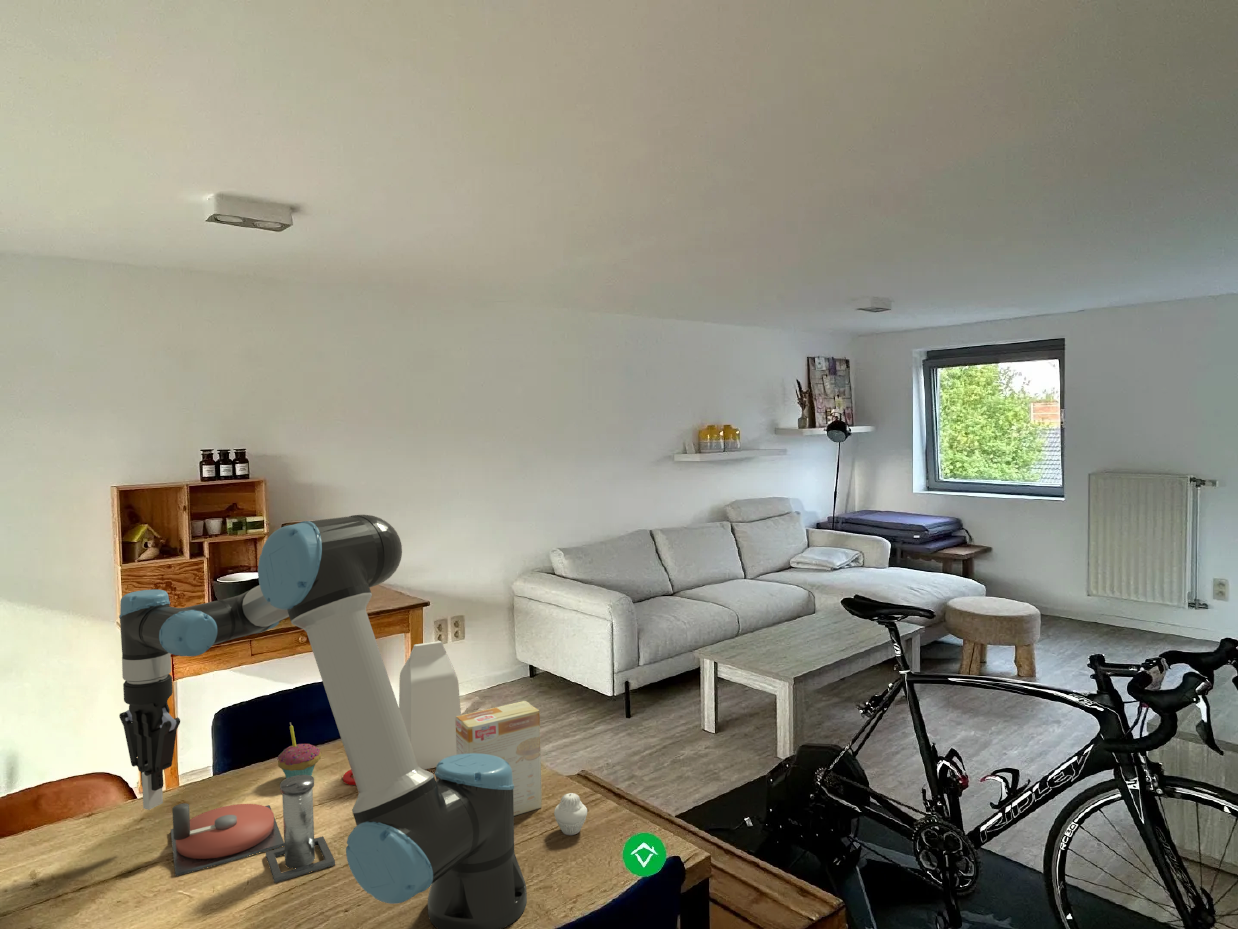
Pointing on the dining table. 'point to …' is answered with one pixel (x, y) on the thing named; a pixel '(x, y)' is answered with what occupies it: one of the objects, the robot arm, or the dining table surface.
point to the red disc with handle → (220, 830)
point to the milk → (430, 703)
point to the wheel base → (192, 864)
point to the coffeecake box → (507, 746)
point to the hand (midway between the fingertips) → (153, 805)
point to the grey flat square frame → (304, 869)
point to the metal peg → (298, 820)
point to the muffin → (570, 814)
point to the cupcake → (298, 758)
